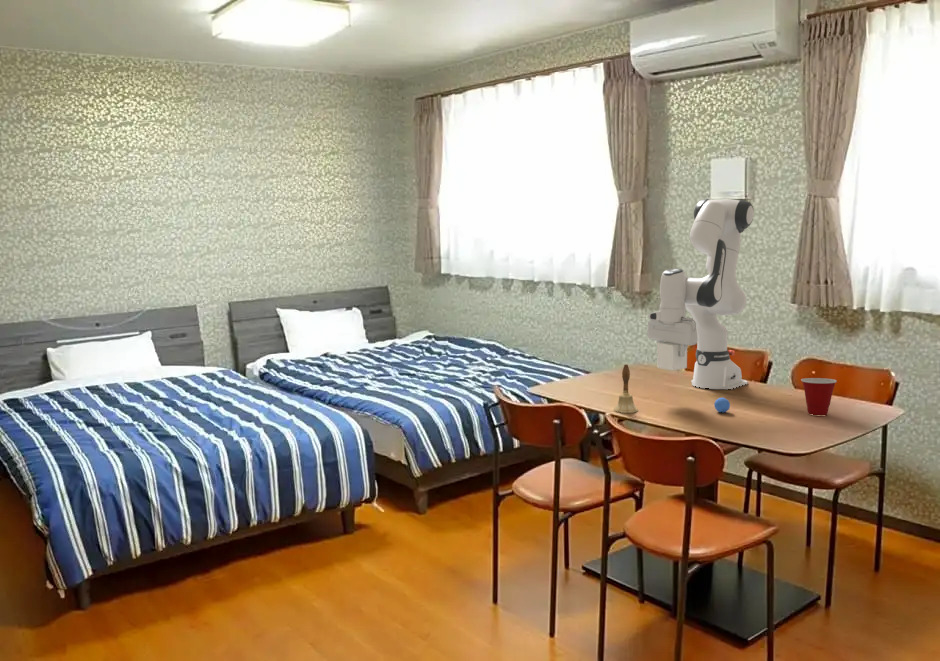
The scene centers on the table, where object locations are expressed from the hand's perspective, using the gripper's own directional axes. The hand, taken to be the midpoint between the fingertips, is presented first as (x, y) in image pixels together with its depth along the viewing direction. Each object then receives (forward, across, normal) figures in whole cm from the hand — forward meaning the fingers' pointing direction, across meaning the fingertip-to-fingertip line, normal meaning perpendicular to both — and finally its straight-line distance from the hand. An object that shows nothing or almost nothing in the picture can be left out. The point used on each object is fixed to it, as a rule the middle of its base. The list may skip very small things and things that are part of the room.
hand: (671, 354), depth 288 cm
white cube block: (+5, 0, 0) cm, 5 cm away
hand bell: (+18, +2, +20) cm, 27 cm away
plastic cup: (+18, -41, -25) cm, 51 cm away
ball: (+15, -20, -3) cm, 25 cm away
